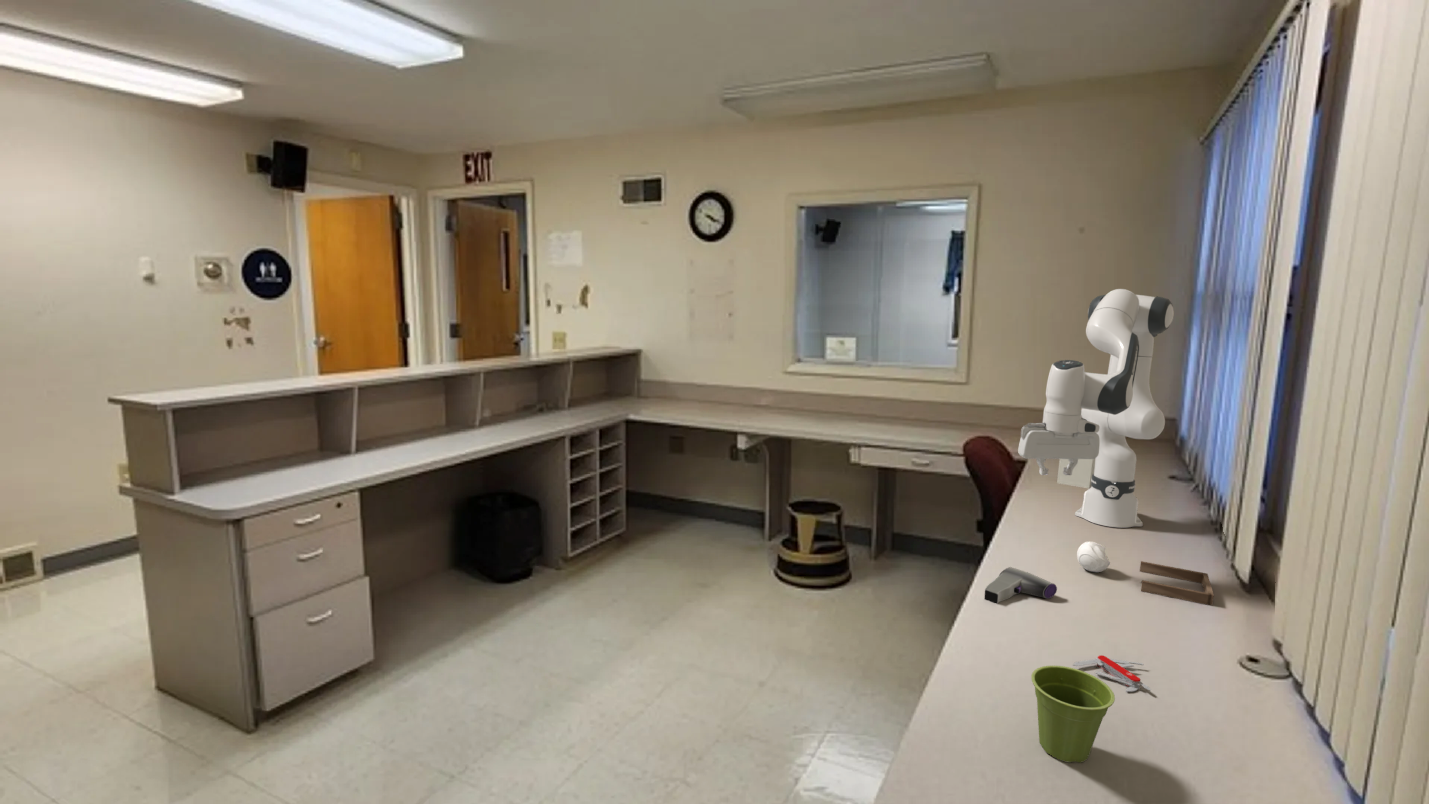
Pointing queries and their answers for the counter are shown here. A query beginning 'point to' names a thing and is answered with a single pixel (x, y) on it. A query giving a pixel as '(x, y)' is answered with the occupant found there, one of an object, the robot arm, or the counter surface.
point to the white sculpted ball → (1092, 557)
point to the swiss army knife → (1116, 671)
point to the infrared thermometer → (1018, 585)
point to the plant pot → (1069, 710)
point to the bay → (1177, 592)
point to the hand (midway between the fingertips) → (1055, 474)
